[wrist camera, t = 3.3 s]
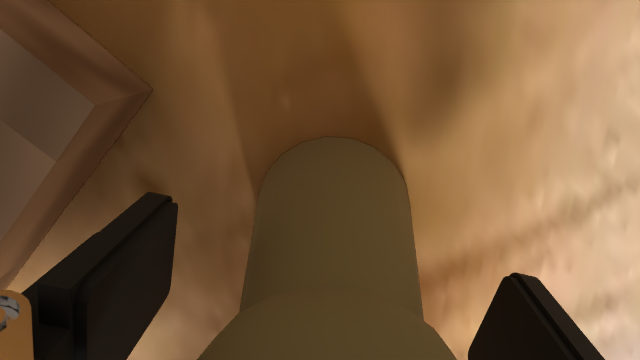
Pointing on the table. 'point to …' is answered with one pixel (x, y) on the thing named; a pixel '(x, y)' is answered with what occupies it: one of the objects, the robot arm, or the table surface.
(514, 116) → the table surface
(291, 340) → the cork
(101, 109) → the shaker holder
